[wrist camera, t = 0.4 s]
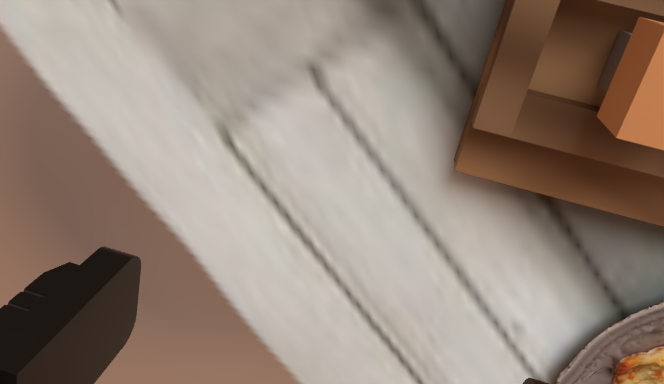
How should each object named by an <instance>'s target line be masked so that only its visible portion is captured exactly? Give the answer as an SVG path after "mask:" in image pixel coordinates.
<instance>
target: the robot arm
mask: <svg viewBox="0 0 664 384" xmlns="http://www.w3.org/2000/svg"><path fill="white" fill-rule="evenodd" d="M140 272H141V260H140V258H139V257H137V256H134V255H131V254H128V253H124V252H121V251H117V250H115V249H111V248H108V247H101V248H99V249H98V250H97V251H95V252H94V253H93V254H92V255H91V256H90V257H89V258H88V259H86V260H85V261H84V262H83V263H82V264H81V265H77V264H74V263H70V262H69V263H66V264H64V265H61V266H59V267H57V268H54V269H52V270H49V271H47V272H44V273H43V274H42V275H40V276H39V277H38V278H37V279H36V280H34V281H33V282H32V283H31V284H29V285H28V286H27V287H26V288H25V289H24V292H20V293H19V294H17V295H16V296H15V297H14V298H13V299H11V300H10V301H9V303H8V305H4V306H3V307H2V308H1V309H0V384H94V383H95V382H96V380H97V379H98V378H99V377H100V375H101V374H102V373H103V372H104V370H105V369H106V368H107V366H108V365H109V364H110V363H111V362H112V360H113V359H114V358H115V357H116V355H117V354H118V353H119V351H120V350H121V349H122V348H123V346H124V345H125V344H126V342H127V340H128V339H129V337H130V335H131V332H132V330H133V327H134V323H135V320H136V314H137V304H138V292H139V282H140ZM523 384H548V383H545V382H542V381H538V380H535V379H532V378H528V379H526V380H525V381H524V383H523Z"/></svg>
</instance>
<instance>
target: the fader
mask: <svg viewBox="0 0 664 384" xmlns="http://www.w3.org/2000/svg"><path fill="white" fill-rule="evenodd" d="M598 85H599V86H600V87H601V88H602V89H603V90H604V91H605V92H606V96H605V98H604V100H603V103H602V105H601V107H600V110H599V112H598V114H597V117H598V118H599V119H600V121H601V122H602V123H603V124H604V125H605V126H606V127H607V128H608V129H609V131H610V132H611V133H612V134H613V135H614V136H615V137H616V138H618V139H622V140H626V141H630V142H634V143H637V144H641V145H645V146H649V147H653V148H657V149H661V150H664V23H663V22H659V21H655V20H651V19H647V18H642V17H639V18H638V21H637V23H636V26H635V28H634V30H633V33H630V32H626V31H622V30H620V33H619V35H618V37H617V40H616V42H615V45H614V47H613V49H612V52H611V54H610V57H609V59H608V61H607V64H606V66H605V68H604V71H603V73H602V76H601V78H600V80H599V83H598Z"/></svg>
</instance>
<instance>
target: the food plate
mask: <svg viewBox="0 0 664 384" xmlns="http://www.w3.org/2000/svg"><path fill="white" fill-rule="evenodd" d="M617 323H618V322H617ZM617 323H615V324H613V325H612V327H611V328H610V327H609V328H607V329H606V330H605V331H604V332H602V333H601V334H599V335H598V336H597V337H595V339H593V340H592V341H590V343H588V344H586V346H585V348H584V349H582V350H580V352H579V353H578V354H577V355H576V357H575V358H574V359H573V360H572V361H571V363H570V364H569V365H568V366H567V368H566V369H564V370H563V371H562V372H561V373H560V374H559V378H558V377H557V378H558V379H557V383H556V382H555V384H664V302H661V303H660V304H659V305H655V306H653V307H651V308H650V307H649V308H648V309H644V310H642V311H641V312H640V311H639V312H638V313H635V314H632V315H629V316H628V317H626V319H625V320H621V322H620V321H619V323H618V324H617Z"/></svg>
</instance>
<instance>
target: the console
mask: <svg viewBox="0 0 664 384" xmlns="http://www.w3.org/2000/svg"><path fill="white" fill-rule="evenodd" d="M639 17H642V18H647V19H651V20H655V21H659V22H663V23H664V0H506V3H505V6H504V9H503V12H502V16H501V19H500V22H499V25H498V28H497V31H496V34H495V37H494V40H493V43H492V46H491V49H490V52H489V55H488V58H487V61H486V64H485V67H484V70H483V73H482V76H481V79H480V83H479V86H478V89H477V92H476V95H475V98H474V101H473V104H472V107H471V110H470V113H469V116H468V119H467V122H466V125H465V128H464V131H463V134H462V137H461V140H460V143H459V146H458V150H457V153H456V156H455V159H454V163H455V171H458V172H461V173H465V174H469V175H473V176H476V177H480V178H484V179H488V180H491V181H495V182H499V183H503V184H506V185H510V186H514V187H517V188H521V189H525V190H529V191H532V192H536V193H540V194H544V195H547V196H551V197H555V198H559V199H562V200H566V201H570V202H574V203H577V204H581V205H585V206H588V207H592V208H596V209H600V210H603V211H607V212H611V213H615V214H618V215H622V216H626V217H630V218H633V219H637V220H641V221H645V222H648V223H652V224H656V225H660V226H663V227H664V150H661V149H657V148H653V147H649V146H645V145H641V144H637V143H634V142H630V141H626V140H622V139H618V138H616V137H615V136H614V135H613V134H612V133H611V132H610V131H609V129H608V128H607V127H606V126H605V125H604V124H603V123H602V122H601V121H600V119H599V118H598V117H597V114H598V112H599V110H600V107H601V105H602V103H603V100H604V98H605V96H606V92H605V91H604V90H603V89H602V88H601V87H600V86H599V85H598V83H599V80H600V78H601V76H602V73H603V71H604V68H605V66H606V64H607V61H608V59H609V57H610V54H611V52H612V49H613V47H614V45H615V42H616V40H617V37H618V35H619V33H620V30H622V31H626V32H630V33H633V30H634V28H635V26H636V23H637V21H638V18H639Z"/></svg>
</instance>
